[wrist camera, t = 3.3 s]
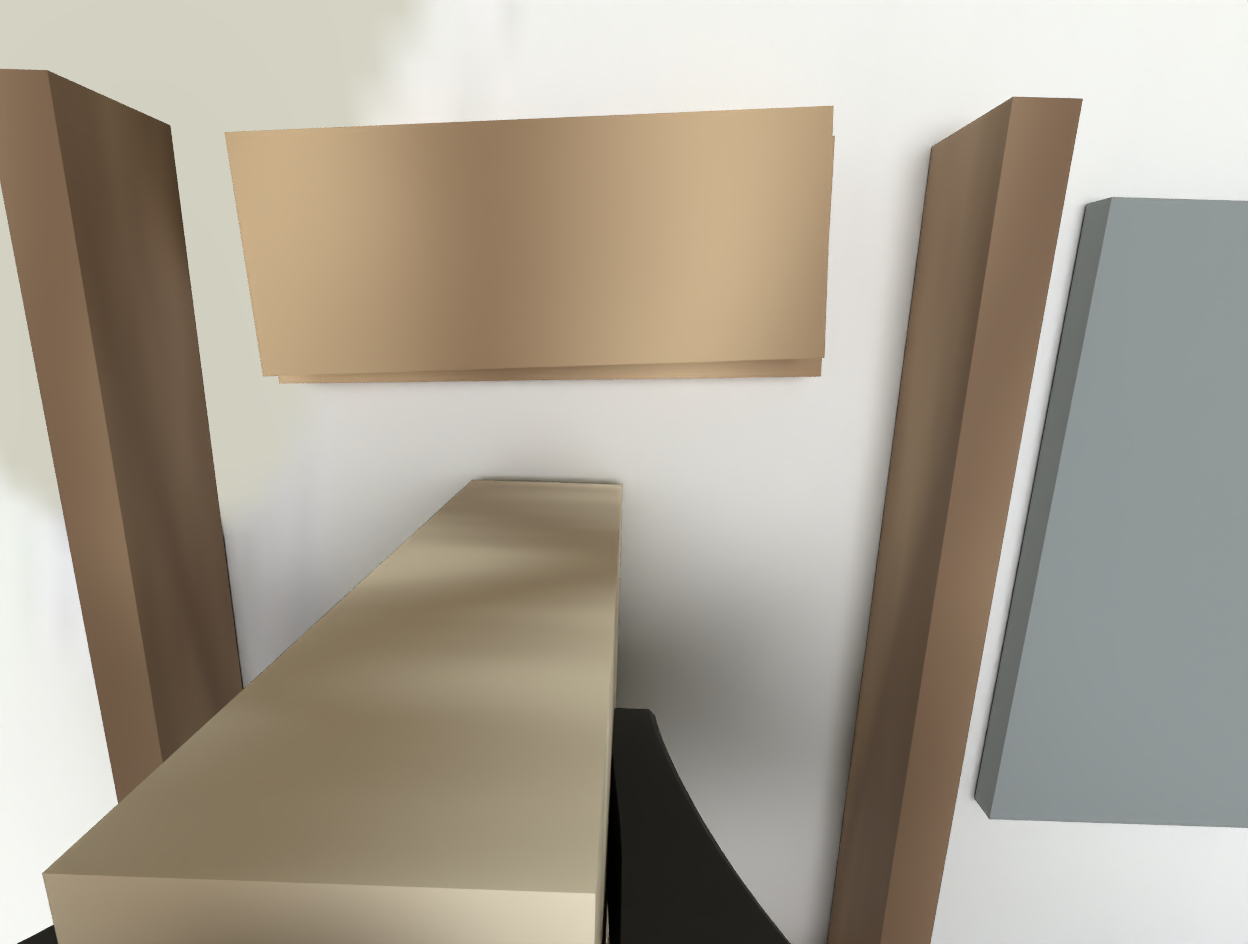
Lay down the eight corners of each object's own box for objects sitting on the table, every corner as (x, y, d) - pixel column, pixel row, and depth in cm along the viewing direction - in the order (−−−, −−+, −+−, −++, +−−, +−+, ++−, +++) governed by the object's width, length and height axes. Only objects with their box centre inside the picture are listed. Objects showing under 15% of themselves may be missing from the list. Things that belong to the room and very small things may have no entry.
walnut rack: (987, 148, 11) (1269, 2, 6) (860, 985, 15) (966, 1285, 11) (116, 124, 11) (-287, -39, 6) (239, 963, 16) (59, 1251, 11)
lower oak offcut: (807, 162, 12) (834, 135, 10) (797, 370, 13) (820, 376, 11) (297, 172, 12) (245, 147, 10) (322, 377, 13) (279, 383, 11)
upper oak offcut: (806, 137, 10) (833, 105, 9) (800, 355, 11) (824, 357, 10) (278, 159, 10) (224, 132, 9) (309, 372, 11) (263, 376, 10)
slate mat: (1520, 216, 11) (1569, 210, 11) (1317, 810, 14) (1347, 831, 14) (1087, 204, 11) (1111, 197, 11) (974, 798, 14) (989, 818, 14)
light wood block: (622, 484, 12) (594, 893, 3) (612, 823, 14) (577, 1673, 5) (472, 479, 12) (43, 874, 3) (481, 818, 14) (220, 1656, 5)
